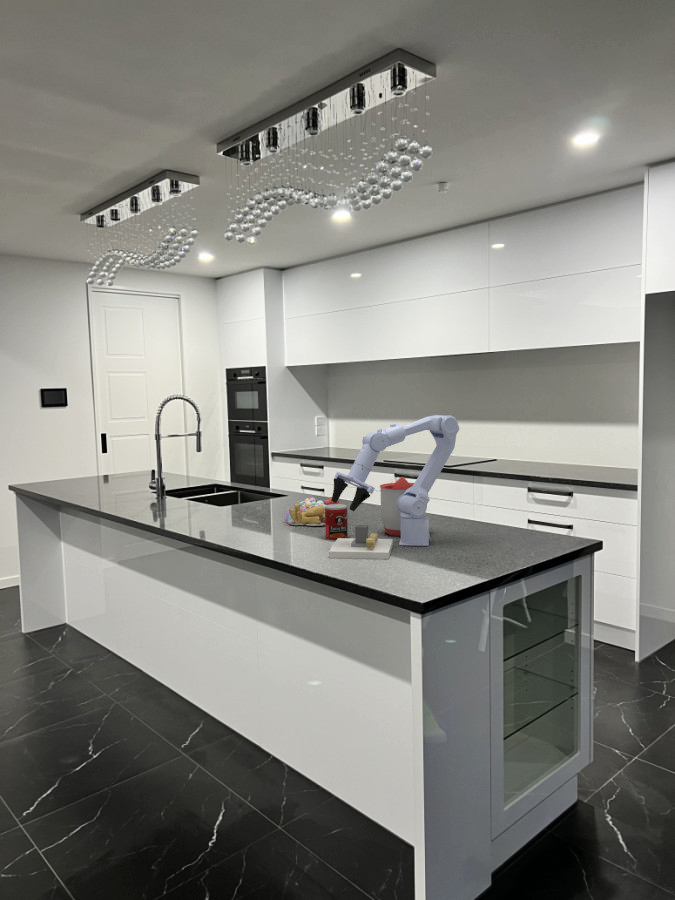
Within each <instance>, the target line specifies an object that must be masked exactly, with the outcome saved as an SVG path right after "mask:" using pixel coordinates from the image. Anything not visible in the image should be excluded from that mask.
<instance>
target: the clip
mask: <svg viewBox="0 0 675 900" xmlns="http://www.w3.org/2000/svg"><path fill="white" fill-rule="evenodd" d="M369 534H370V535H368V538H367V539H366V546H373V545H374V543H375V541H376V540H377V539H378V532H370V533H369Z"/></svg>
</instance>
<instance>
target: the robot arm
mask: <svg viewBox="0 0 675 900" xmlns="http://www.w3.org/2000/svg"><path fill="white" fill-rule="evenodd" d="M424 431H429V433H430V434H431V435H432V437H433V439H434V440H435V444H436V446H435V448H434V449H433V451H432V453H431V454H430V456H429V458H428V460H427V461H426V463H425V464H424V466H423V467H422V470H421V472H420V473H419V475H418V477H417V478H416V480H415V482H413V483H414V485H413V486H412V487H410V488H408V489H407V490H406V492H405V493H404V494H403V495H401V496H400V497H399V498H398V500H397V508H398V510H399V511H400V515H401V536H400V539H399V541H398V546H409V547H410V546H411V547H412V546H413V547H415V546H417V547H418V546H419V547H422V546H423V547H429V545H430V544H429V543H430V540H431V534H430V517H429V516H425V513H426V512H427V506H428V503H429V502H430V501H429V499H430V498H429V497H430V496H429V492H430V491H431V489H432V487H433V485H434V484H435V482H436V480H437V479H438V477H439V475H440V474H441V472H442V470H443V468H444V467H445V465H446V464H447V462H448V460H449V458H450V456H451V455H452V453H453V451H454V449H455V446H456V440H457V434H458V433H459V431H460V426H459V423H458V419H457V418H456V417H455V416H453V415H441V414H432V415H430V416H425V417H423V418H421V419H420V418H419V419H418V420H416V421H413V422H410V423H408V424H405V425H403V426H402V425H400V424H398V423H397V424H396V423H391V424H390V426H388V427H385V428H383V429H382V428H378V429H377V432H375V431H374V432H373V431H372V432H368V433H367V434H365V436H363V437H362V441H361V442H362V446H361V448H360V450H359V452H358V453H357V456H356V458H355V460H354V462H353V464H352V466H351V468H350V470H349V472H348V473H347V474H345V473H343V472H340V471H336V473H335V475H334V478H333V491H332V496H331V497H332V499H331V501H333V502H334V503H336V502H337V501H338V500H339V499H340V497H341V495H342V493H343V492H344V491H345V489H347V488H348V486H349V484H350V485H352V486H354V487H356V490H355V494H354V497H353V500H352V502H351V504H350V505H349V511H352V512H355V511H356V510H357V509H358V508H359V506H360V505H361V504H362V503H363V502H365V501H366V500H367V499H369V498H370V497H371V494H373V493H374V491H375V487H374V486H372V485H370V484H367V483H366V481H367V479H368V477H369V474H370V473H371V470H372V468H374V467H373V466H374V464H375V463H376V461H377V459H378V456H379V454H380V453H381V452H383V451H385V450H386V449H387V448H388V447H391V446H394V445H396V444H399V443H401V442H404V441H405V440H406V437H407V436H410V435H414V434H417V433H420V432H424ZM423 515H424V517H423Z"/></svg>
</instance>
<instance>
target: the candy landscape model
mask: <svg viewBox="0 0 675 900" xmlns="http://www.w3.org/2000/svg"><path fill="white" fill-rule="evenodd" d="M331 499H332V496H330V497H329V498H328V499H325V500H324V501H323V500H316V498H315V497H308V498H307V497H306V498H305V499H304V500H302V501H300V502H298V503H294V505H293V506H294V509H293V508H292V507H289V506H286V507H285V511H284V512H285V516H284V523H286V524H288V525H291V526H309V527H311V526H313V527H315V526H318V527H319V526H325V506H326V505H330V504H342V503H341V502H340V500H339V499H338V501H337V502H336V503H334V502H333V501H331Z"/></svg>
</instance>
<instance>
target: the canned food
mask: <svg viewBox="0 0 675 900" xmlns="http://www.w3.org/2000/svg"><path fill="white" fill-rule="evenodd" d="M324 526H325V527H324V528H325V529H324V530H325V537H326V538H325V539H327V540H332V541H336V540H337V539H338V538H348V533H349V531H348V530H349V529H348V528H349V527H348V526H349V525H348V505H346V504H342V503H341V504H330V505H326V506H325V525H324Z"/></svg>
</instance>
